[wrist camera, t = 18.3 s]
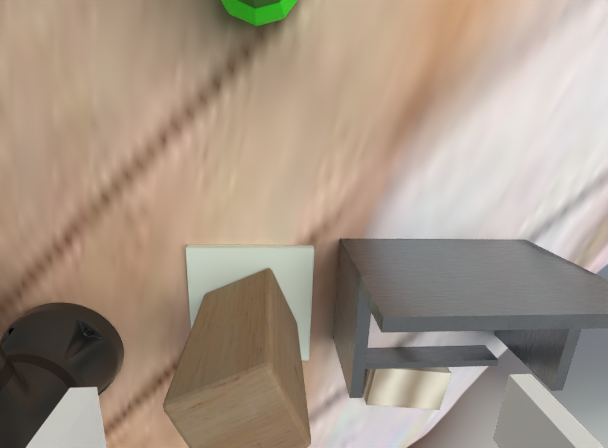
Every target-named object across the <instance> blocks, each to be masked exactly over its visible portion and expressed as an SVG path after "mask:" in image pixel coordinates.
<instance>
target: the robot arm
mask: <svg viewBox="0 0 608 448" xmlns="http://www.w3.org/2000/svg"><path fill="white" fill-rule="evenodd" d="M123 356H124V351H123V345H122V341H121V339H120V337H119V335H118V333H117V331H116V330H115V328H114V327H113V326H112V325H111V324H110V323H109V322H108V321H107V320H106V319H105V318H104V317H102V316H101V315H99V314H98V313H96V312H94V311H92V310H90V309H88V308H85V307H82V306H79V305H75V304H69V303H51V304H45V305H42V306H39V307H36V308H34V309H32V310H30V311H28V312H27V313H25V314H24V315H23V316H22V317H20V318H19V319H18V320H17V321H15V322H14V323H13V324H12V325H11V326H10V327H9V328H8V330H7V331H6V332H5V334H4V336H3V337H2V339H1V342H0V448H107V446H106V440H105V434H104V428H103V421H102V415H101V409H100V403H99V397H98V396H99V395H100V394H101V393H102V392H104V391H105V390H106V389H107V388H108V387H109V386H110V384H111V383H112V382H113V380H114V378H115V377H116V375H117V373H118V372H119V370H120V368H121V365H122V362H123ZM493 439H494V441H495V442H496V443H497V445H498V447H499V448H604V447H603V446H602V445H601V444H600V443H599V442H598V441H597V440H596V439H595V438H594V437H593V436H592V435H591V434H590V433H589V432H588V431H587V430H586V429H585V428H584V427H583V426H582V425H581V424H580V423H579V422H578V421H577V420H576V419H575V418H574V417H573V416H572V415H571V414H570V413H569V412H568V411H567V410H566V409H565V408H564V407H563V406H562V405H561V404H560V403H559V402H558V401H557V400H556V399H555V398H554V397H553V396H552V395H551V394H550V393H549V392H548V391H547V390H546V389H545V388H544V387H543V386H542V385H541V384H540V383H539V382H538V381H537V380H536V379H535V378H534V377H533V376H532V375H531V374H516V375H509V378H508V382H507V386H506V390H505V395H504V399H503V402H502V406H501V410H500V414H499V418H498V422H497V426H496V430H495V434H494V438H493Z"/></svg>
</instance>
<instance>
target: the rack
mask: <svg viewBox="0 0 608 448" xmlns="http://www.w3.org/2000/svg"><path fill="white" fill-rule="evenodd" d="M371 312H372V314H373V316H374V318H375V320H376V322H377V324H378V326H379V328H380V330H381V332H429V331H482V330H496V331H495V335H496V336H497V337H498V338H499V339H500V340H501V341H502V342H503V343H504V344H505V345H506V346H507V347H508V348H509V349H510V350H511V351H512V352H513V353H514V354H515V355H516V356H517V357H518V358H519V359H520V360H521V361H522V362H523V363H524V364H525V365H526V366H527V367H528V368H529V369H530V370H531V371H532V372H533V373H534V374H535V375H536V376H537V377H538V378H539V379H540V380H541V381H542V382H543V383H544V384H545V385H546V386H547V387H548V388H549V389H550V390H552V391H555V390H563V387H564V384H565V380H566V377H567V374H568V370H569V367H570V364H571V361H572V358H573V354H574V351H575V348H576V344H577V341H578V338H579V335H580V331H581V329H585V328H586V329H588V328H608V280H606V279H604V278H602V277H600V276H598V275H596V274H594V273H592V272H590V271H588V270H586V269H584V268H582V267H580V266H578V265H576V264H574V263H572V262H570V261H568V260H565V259H563V258H561V257H559V256H557V255H555V254H553V253H551V252H549V251H547V250H545V249H543V248H541V247H539V246H537V245H535V244H533V243H531V242H529V241H527V240H465V239H340V251H339V265H338V279H337V293H336V308H335V322H334V336H333V338H334V342H335V346H336V349H337V353H338V357H339V360H340V364H341V368H342V371H343V375H344V379H345V382H346V386H347V389H348V393H349V397H350V398H362V394H363V384H364V374H365V369H392V368H427V367H461V366H496V365H497V363H498V359H497V358H496V357H495V356H494V355H493V354H492V353H491V351H490V350H489V349H488V348H487V347H486V346H442V347H399V348H367V346H368V336H369V327H370V317H371Z"/></svg>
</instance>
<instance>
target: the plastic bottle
mask: <svg viewBox="0 0 608 448" xmlns="http://www.w3.org/2000/svg"><path fill="white" fill-rule="evenodd" d="M297 1H298V0H221V2H222V3H223V5H224V7H225V8H226V10H227V12H228V13H229V14H230V15H233V16H235V17H237V18H239V19H241V20H243V21H246V22H248V23H250V24H252V25H254V26H260V25H264V24H267V23H271V22H275V21H279V20H282V19H284V18H285V17H286V16H287V14H288V13H289V12H290V10H291V9H292V7H293V6H294V5H295V3H296V2H297Z"/></svg>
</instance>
